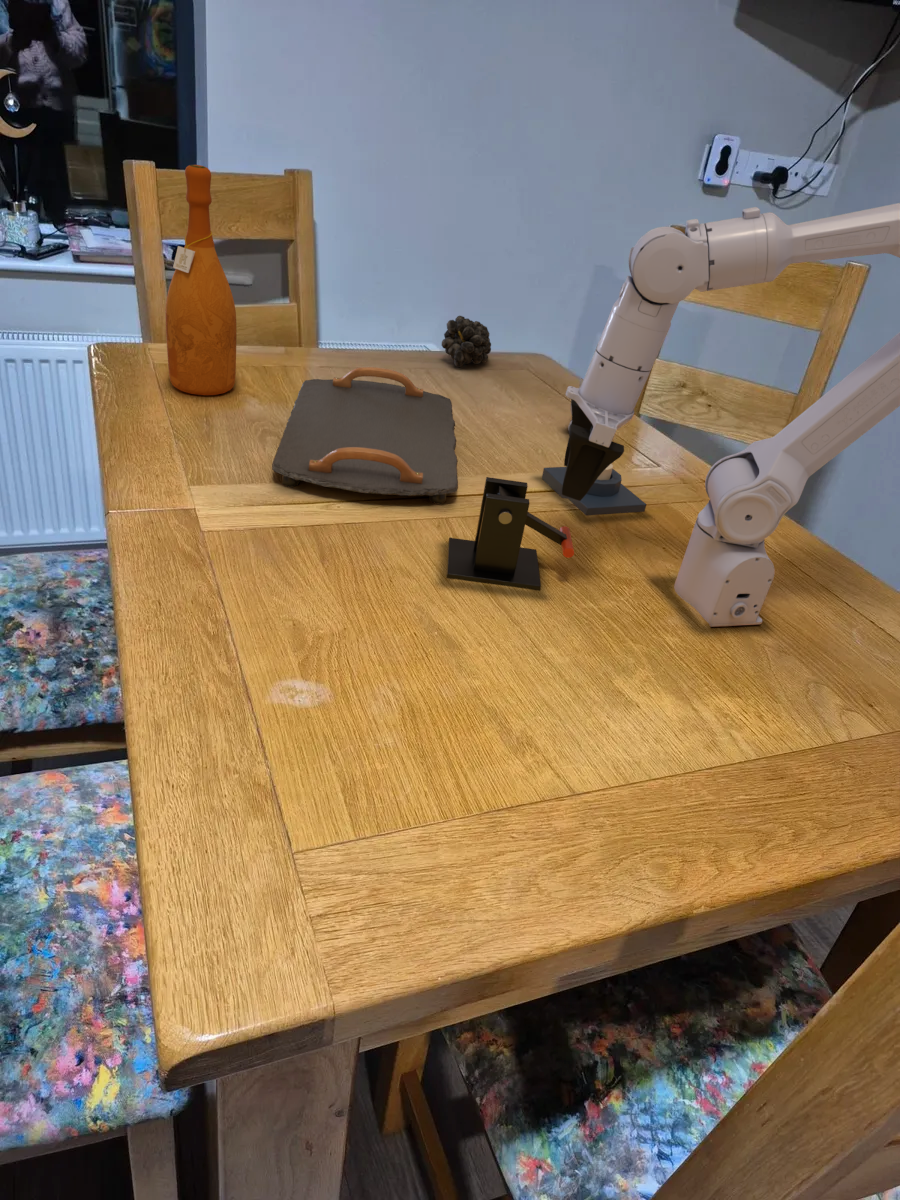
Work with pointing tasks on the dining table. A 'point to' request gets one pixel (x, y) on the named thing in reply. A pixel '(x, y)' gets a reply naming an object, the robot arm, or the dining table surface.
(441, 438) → the serving tray
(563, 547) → the switch lever
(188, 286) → the wine bottle
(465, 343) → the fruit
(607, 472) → the button
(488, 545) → the mini lever press
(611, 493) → the base unit
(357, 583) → the dining table surface
